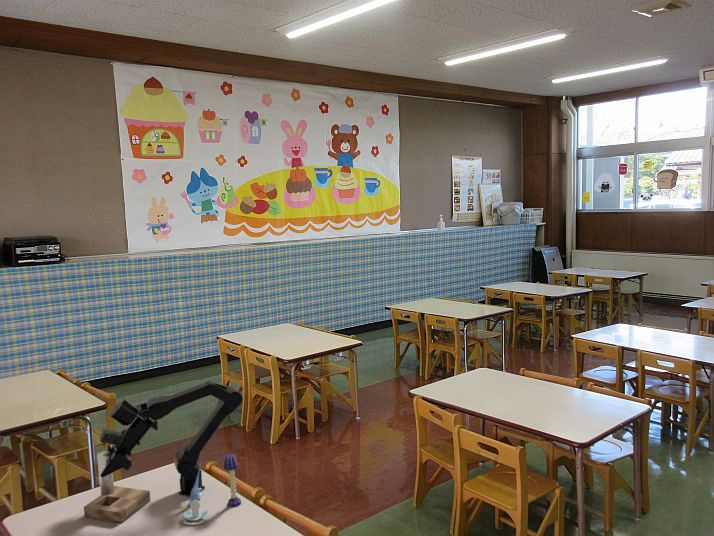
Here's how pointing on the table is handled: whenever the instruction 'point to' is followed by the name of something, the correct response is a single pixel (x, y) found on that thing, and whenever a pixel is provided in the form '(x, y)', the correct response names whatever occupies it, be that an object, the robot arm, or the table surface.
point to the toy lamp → (232, 478)
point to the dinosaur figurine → (192, 494)
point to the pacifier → (194, 514)
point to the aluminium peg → (106, 481)
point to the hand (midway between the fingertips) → (100, 473)
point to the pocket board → (117, 504)
